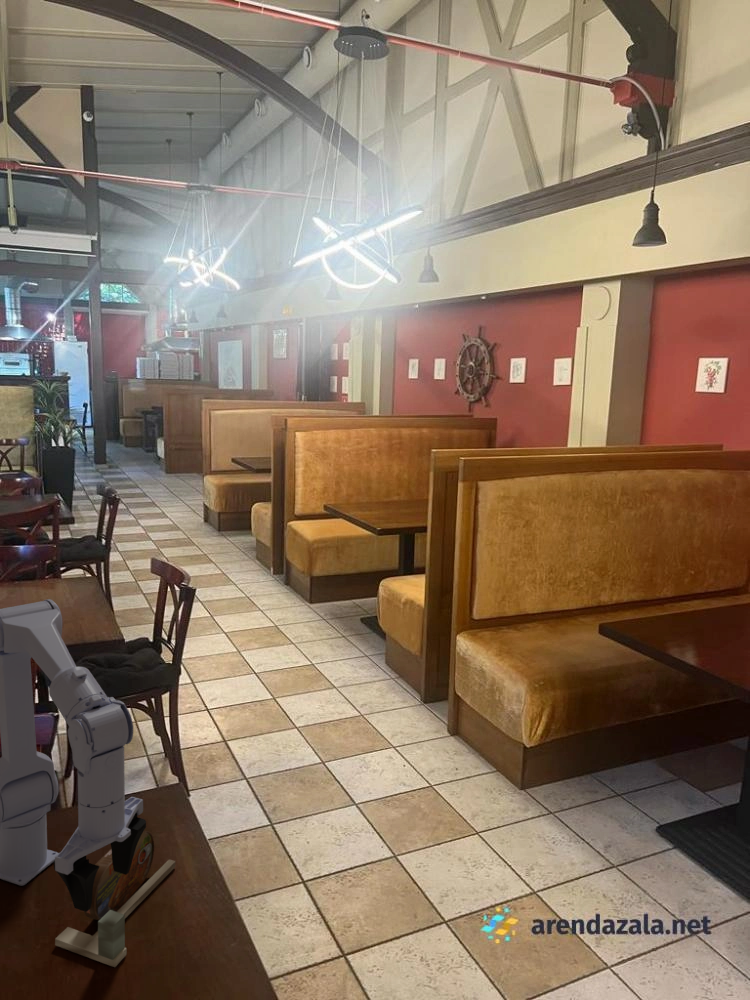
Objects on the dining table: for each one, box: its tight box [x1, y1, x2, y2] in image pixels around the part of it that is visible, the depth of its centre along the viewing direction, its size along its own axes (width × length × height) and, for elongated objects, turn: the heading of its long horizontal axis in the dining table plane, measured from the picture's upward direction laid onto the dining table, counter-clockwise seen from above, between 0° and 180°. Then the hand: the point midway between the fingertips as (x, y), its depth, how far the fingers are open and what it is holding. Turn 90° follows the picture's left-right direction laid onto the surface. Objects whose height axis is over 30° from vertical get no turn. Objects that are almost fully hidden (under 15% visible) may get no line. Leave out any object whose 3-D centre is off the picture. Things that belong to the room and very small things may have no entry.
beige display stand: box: [54, 859, 176, 968], centre depth 107 cm, size 10×20×6 cm, turn 161°
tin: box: [83, 830, 155, 921], centre depth 109 cm, size 15×3×8 cm, turn 165°
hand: (102, 889), depth 96 cm, fingers open, 7 cm apart
